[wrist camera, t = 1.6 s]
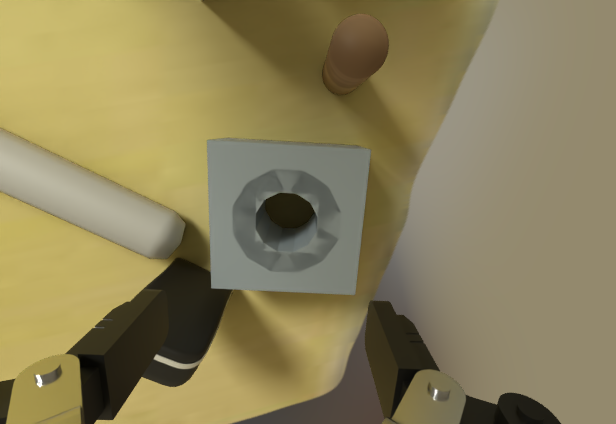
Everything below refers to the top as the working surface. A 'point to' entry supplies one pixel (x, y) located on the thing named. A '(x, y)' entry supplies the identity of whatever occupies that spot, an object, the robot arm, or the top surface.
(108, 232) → the tube
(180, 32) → the top surface
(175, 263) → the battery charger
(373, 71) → the walnut dowel
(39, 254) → the top surface
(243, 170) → the bore block
